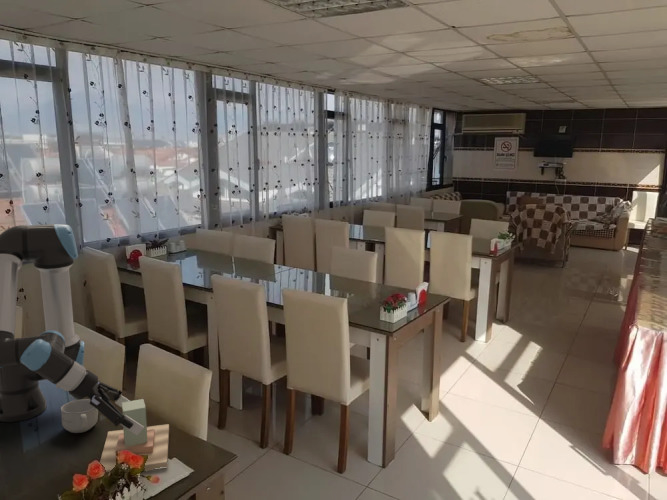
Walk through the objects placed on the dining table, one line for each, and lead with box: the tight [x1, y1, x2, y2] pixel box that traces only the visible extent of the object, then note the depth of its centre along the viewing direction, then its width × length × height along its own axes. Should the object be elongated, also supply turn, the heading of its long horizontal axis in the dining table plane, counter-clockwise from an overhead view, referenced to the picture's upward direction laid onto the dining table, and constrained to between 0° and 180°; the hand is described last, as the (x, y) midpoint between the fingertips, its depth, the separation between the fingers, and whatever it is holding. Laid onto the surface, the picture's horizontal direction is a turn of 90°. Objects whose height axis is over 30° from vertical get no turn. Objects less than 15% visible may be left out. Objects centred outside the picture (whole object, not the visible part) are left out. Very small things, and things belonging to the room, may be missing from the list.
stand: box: [99, 423, 170, 472], centre depth 152 cm, size 22×18×4 cm
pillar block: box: [121, 398, 148, 447], centre depth 151 cm, size 6×6×11 cm
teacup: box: [60, 398, 99, 434], centre depth 164 cm, size 14×11×8 cm
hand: (137, 420), depth 151 cm, fingers open, 13 cm apart
